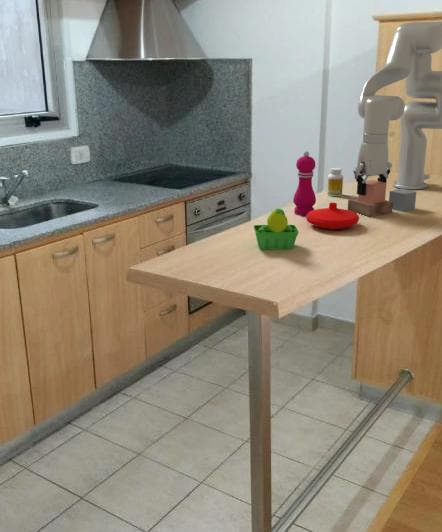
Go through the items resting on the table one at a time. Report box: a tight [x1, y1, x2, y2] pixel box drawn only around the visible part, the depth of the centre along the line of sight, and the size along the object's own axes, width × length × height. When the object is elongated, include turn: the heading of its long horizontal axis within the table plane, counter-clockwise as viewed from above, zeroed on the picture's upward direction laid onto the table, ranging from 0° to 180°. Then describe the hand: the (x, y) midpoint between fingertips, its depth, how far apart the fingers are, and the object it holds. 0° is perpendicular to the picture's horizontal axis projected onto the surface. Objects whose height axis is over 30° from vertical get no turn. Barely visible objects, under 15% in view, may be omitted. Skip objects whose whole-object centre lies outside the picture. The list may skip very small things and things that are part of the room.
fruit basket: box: [252, 208, 299, 250], centre depth 159 cm, size 11×9×11 cm
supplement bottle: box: [326, 167, 344, 197], centre depth 217 cm, size 5×5×10 cm
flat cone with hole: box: [305, 202, 360, 230], centre depth 179 cm, size 16×16×7 cm
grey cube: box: [388, 188, 417, 213], centre depth 198 cm, size 6×6×6 cm
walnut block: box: [347, 198, 393, 218], centre depth 195 cm, size 10×10×4 cm
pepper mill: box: [292, 151, 317, 217], centre depth 191 cm, size 7×7×20 cm
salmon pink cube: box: [358, 179, 387, 204], centre depth 193 cm, size 6×6×6 cm
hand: (371, 192), depth 193 cm, fingers open, 9 cm apart
